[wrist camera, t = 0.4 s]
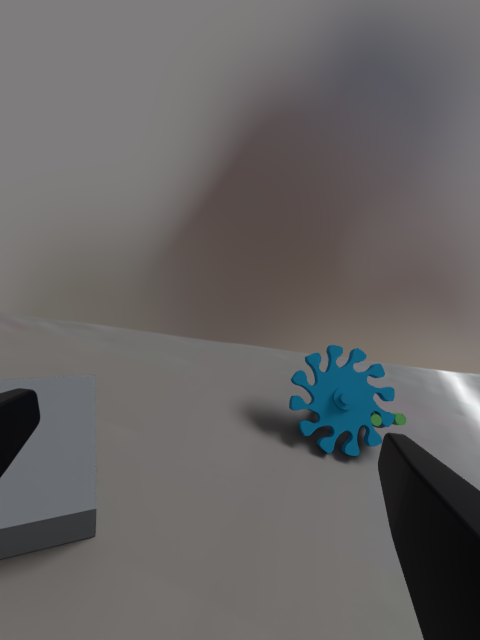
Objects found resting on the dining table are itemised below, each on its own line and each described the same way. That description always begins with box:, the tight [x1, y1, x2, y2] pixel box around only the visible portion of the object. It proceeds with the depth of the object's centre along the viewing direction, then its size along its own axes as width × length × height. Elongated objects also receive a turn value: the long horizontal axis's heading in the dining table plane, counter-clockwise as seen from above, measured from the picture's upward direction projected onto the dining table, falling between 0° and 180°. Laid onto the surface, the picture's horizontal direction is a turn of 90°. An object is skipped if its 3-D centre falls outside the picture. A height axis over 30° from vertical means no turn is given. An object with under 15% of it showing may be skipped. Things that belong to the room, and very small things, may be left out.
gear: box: [289, 345, 406, 456], centre depth 32 cm, size 11×6×10 cm
